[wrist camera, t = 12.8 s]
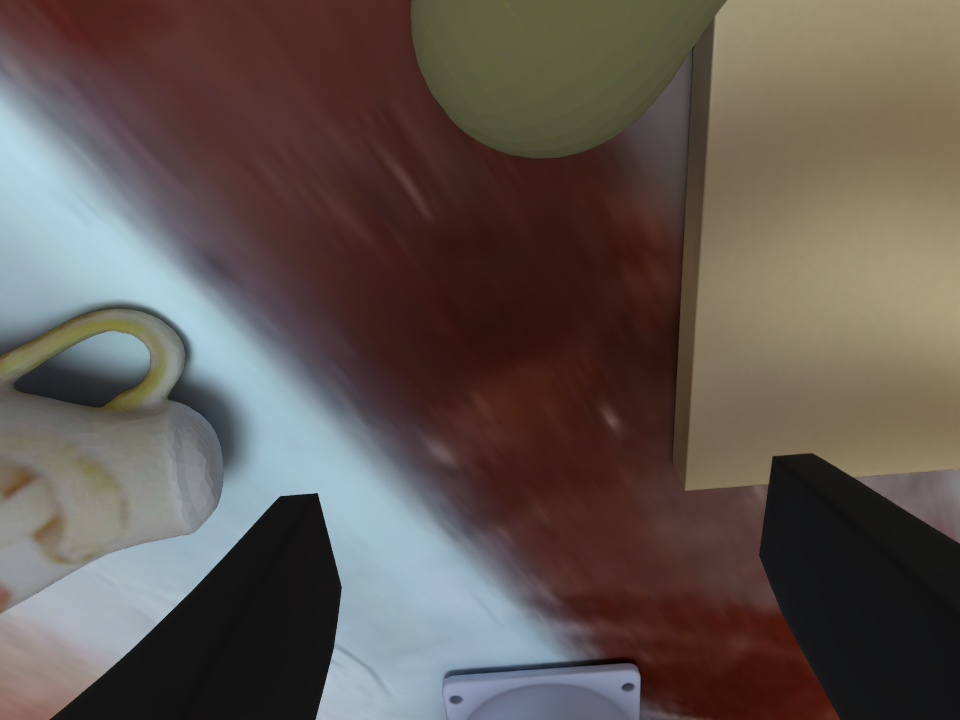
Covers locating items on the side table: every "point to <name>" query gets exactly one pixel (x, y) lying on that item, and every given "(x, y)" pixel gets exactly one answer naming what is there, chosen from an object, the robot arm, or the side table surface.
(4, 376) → the mug
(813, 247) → the maple board
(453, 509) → the side table surface
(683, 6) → the light bulb
